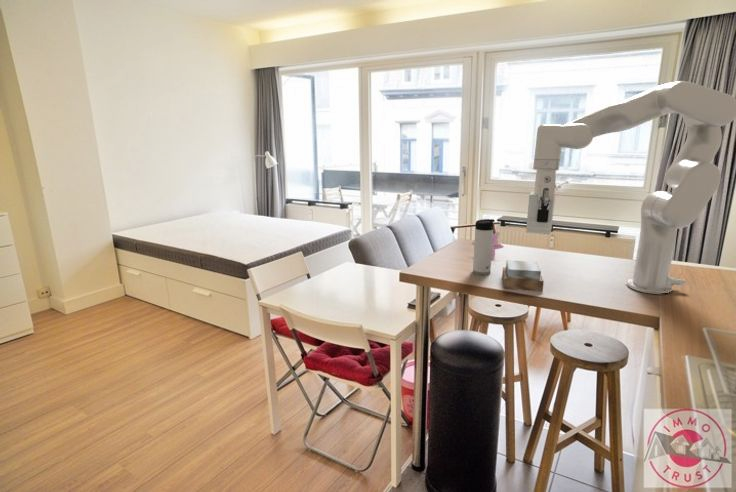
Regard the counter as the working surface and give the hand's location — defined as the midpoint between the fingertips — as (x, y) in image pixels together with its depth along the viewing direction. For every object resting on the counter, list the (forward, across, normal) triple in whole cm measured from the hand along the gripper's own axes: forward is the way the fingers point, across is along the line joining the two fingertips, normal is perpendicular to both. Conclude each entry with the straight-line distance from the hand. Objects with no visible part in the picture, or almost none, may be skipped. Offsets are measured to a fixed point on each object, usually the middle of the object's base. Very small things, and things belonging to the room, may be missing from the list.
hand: (540, 219), depth 139 cm
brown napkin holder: (+23, 0, +4) cm, 23 cm away
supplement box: (+4, 0, 0) cm, 4 cm away
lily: (+23, +31, +14) cm, 41 cm away
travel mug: (+23, +9, +16) cm, 30 cm away
